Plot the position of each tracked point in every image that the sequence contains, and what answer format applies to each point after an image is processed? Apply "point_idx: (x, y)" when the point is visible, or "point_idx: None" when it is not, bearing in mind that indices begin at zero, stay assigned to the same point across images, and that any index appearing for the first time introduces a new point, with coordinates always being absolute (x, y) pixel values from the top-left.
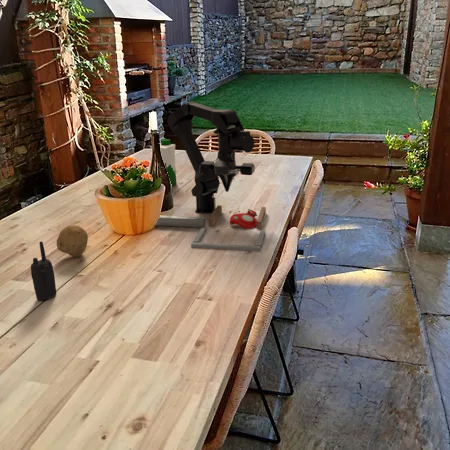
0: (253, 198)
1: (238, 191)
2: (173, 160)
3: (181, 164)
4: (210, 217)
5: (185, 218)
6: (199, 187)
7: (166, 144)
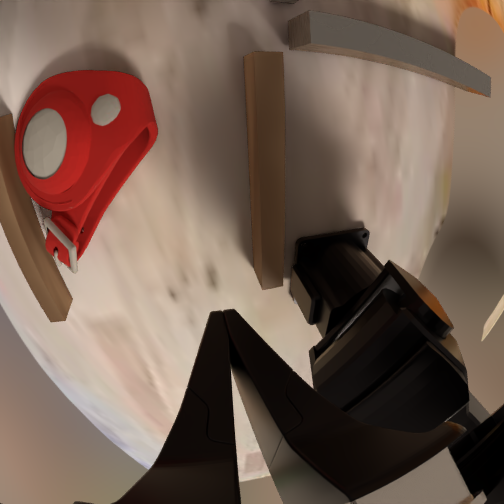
0: (180, 395)
1: (245, 412)
2: None
3: None
4: (282, 83)
5: (405, 36)
6: (430, 303)
7: None
